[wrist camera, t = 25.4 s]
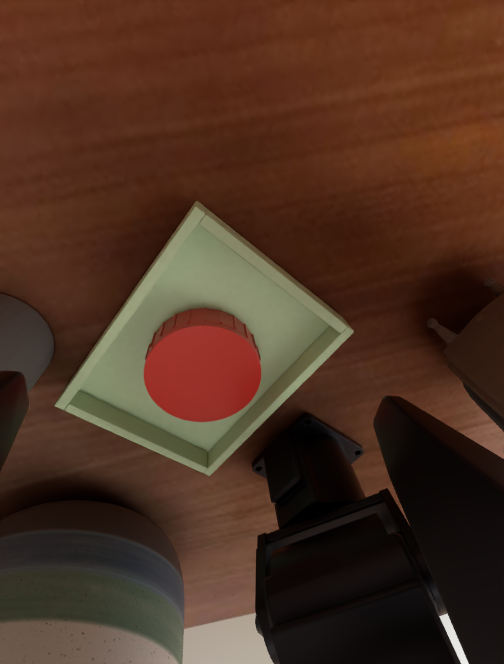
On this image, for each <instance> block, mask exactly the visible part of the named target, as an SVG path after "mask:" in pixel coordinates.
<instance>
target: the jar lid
mask: <svg viewBox="0 0 504 664" xmlns="http://www.w3.org/2000/svg"><path fill="white" fill-rule="evenodd" d="M145 360H146V362H145V366H144V382H145V386H146V389H147V391H148V393H149V395H150V397H151V398H152V400H153V401H154V402H155V403H156V404H157V405H158V406H159V407H160V408H161V409H162V410H164V411H165V412H167V413H168V414H170V415H172V416H174V417H177V418H180V419H183V420H187V421H193V422H211V421H217V420H221V419H224V418H227V417H230V416H232V415H234V414H236V413H237V412H239V411H240V410H242V409H243V408H244V407H245V406H247V405H248V403H249V402H250V401H251V400H252V399H253V397H254V396H255V394H256V392H257V391H258V388H259V385H260V382H261V373H262V371H261V364H260V361H261V358H260V354H259V350H258V346H256V343H255V339H254V335H253V334H251V332H250V331H249V329H248V328H247V327H246V324H243V323H242V322H241V321H240V320H239V319H237V318H236V317H235V316H234V315H233V316H232V315H230V314H228V313H226V312H223V311H221V310H215V309H208V308H206V307H204V308H198V309H189V310H187V311H184V312H181V313H179V314H175V315H174V316H173V317H171V318H170V319H168V320H167V321H166V322H163V323H162V325H161V326H160V327H159V329H158V330H157V332H154V335H153V338H152V341H151V344H149V347H148V350H147V353H146V356H145Z"/></svg>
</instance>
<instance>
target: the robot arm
mask: <svg viewBox="0 0 504 664" xmlns="http://www.w3.org/2000/svg"><path fill="white" fill-rule="evenodd" d="M28 405H29V398H28V392H27V386H26V379H25V376H24V374H23V373H22V372H20V371H6V370H4V371H0V471H1V469H2V466H3V464H4V462H5V460H6V458H7V456H8V453H9V451H10V449H11V446H12V444H13V442H14V440H15V437H16V435H17V433H18V430H19V428H20V426H21V424H22V421H23V419H24V417H25V415H26V412H27V410H28ZM306 420H309V421H307V422H305V421H306ZM374 429H375V432H376V436H377V439H378V442H379V445H380V448H381V452H382V455H383V458H384V461H385V464H386V468H387V471H388V474H389V476H390V479H391V482H392V484H393V487H394V489H395V491H396V494H397V496H398V499H399V501H400V503H401V506H402V508H403V510H404V513H405V515H406V517H407V520H408V522H409V524H410V526H409V524H408V522H407V520H406V519H405V517H404V515H403V514H402V512H401V510H400V509H399V507H398V505H397V504H396V502H395V500H394V499H393V497H392V495H391V494H390V492H389V490H388V489H387V488H386V489H383V490H381V491H379V493H377V494H374V495H372V496H369V497H366V496H365V494H364V492H363V490H362V488H361V485H360V483H359V481H358V479H357V477H356V474H355V472H354V470H353V468H352V466H351V464H352V463H353V462H354V461H356V460H357V459H358V458H359V457H360V456H362V454H363V453H364V450H363V448H362V446H361V445H360V444H358V443H356V442H355V441H353V440H351V439H350V438H348V437H347V436H345V435H343V434H342V433H340V432H338V431H337V430H335V429H334V428H332V427H330V426H329V425H327V424H325V423H324V422H322V421H321V420H319V419H317V418H316V417H314V416H312V415H311V414H304V415H302V416H301V417H300V418H299V419H298V420H297V421H296V422H295V423H293V424H292V425H291V426H290V427H289V428H288V429H287V430H286V431H285V432H284V433H283V434H282V435H281V436H280V437H279V438H278V439H277V440H276V441H275V442H274V443H273V444H272V445H271V446H269V447H268V448H267V449H266V450H265V451H264V452H263V453H262V454H261V455H260V456H259V457H258V458H257V459H256V460H255V461H254V462H253V463H252V470H253V472H255V473H257V474H259V475H261V476H263V477H265V478H267V481H268V487H269V493H270V498H271V502H272V503H274V505H275V510H276V516H277V521H278V526H279V530H276V531H274V532H271V533H268V534H267V533H263V534H261V535H258V543H257V549H256V599H255V610H256V619H255V624H256V629H257V631H258V633H259V634H261V635H262V636H263V637H264V641H265V644H266V647H267V650H268V652H269V655H270V657H271V659H272V661H273V663H274V664H461V663H460V661H459V659H458V657H457V654H456V652H455V650H454V648H453V646H452V643H451V641H450V639H449V637H448V635H447V632H446V630H445V628H444V626H443V624H442V622H441V620H440V617H439V616H441V615H444V614H447V613H448V616H449V618H450V620H451V623H452V625H453V627H454V630H455V632H456V634H457V637H458V639H459V641H460V644H461V646H462V648H463V651H464V653H465V655H466V658H467V660H468V663H469V664H504V459H503V458H501V457H499V456H498V455H496V454H494V453H493V452H491V451H489V450H488V449H486V448H484V447H483V446H481V445H479V444H478V443H476V442H474V441H473V440H471V439H469V438H468V437H466V436H464V435H463V434H461V433H459V432H458V431H456V430H454V429H453V428H451V427H449V426H448V425H446V424H445V423H443V422H441V421H440V420H438V419H436V418H435V417H433V416H431V415H430V414H428V413H426V412H425V411H423V410H421V409H420V408H418V407H416V406H415V405H413V404H411V403H410V402H408V401H406V400H405V399H403V398H401V397H399V396H385V397H384V398H383V399H382V401H381V403H380V405H379V408H378V410H377V413H376V415H375V418H374ZM258 466H259V467H258Z"/></svg>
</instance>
